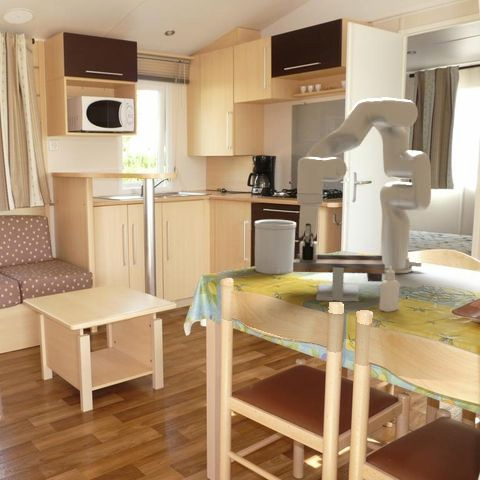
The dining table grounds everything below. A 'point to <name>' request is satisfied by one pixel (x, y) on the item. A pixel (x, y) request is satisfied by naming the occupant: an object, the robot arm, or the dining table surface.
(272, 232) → the utensil holder
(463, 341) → the dining table surface
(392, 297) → the eye dropper bottle
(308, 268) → the beam
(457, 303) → the dining table surface
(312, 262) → the rider
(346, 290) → the fulcrum
